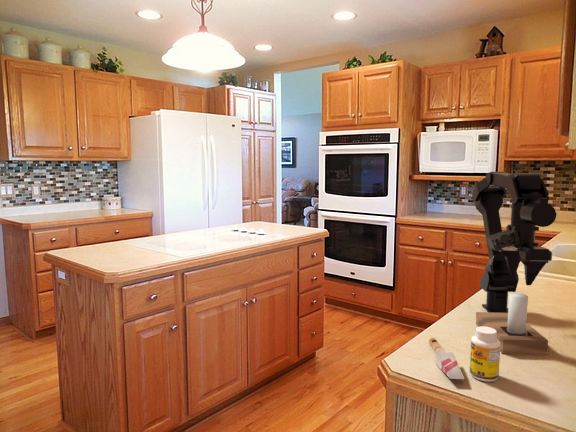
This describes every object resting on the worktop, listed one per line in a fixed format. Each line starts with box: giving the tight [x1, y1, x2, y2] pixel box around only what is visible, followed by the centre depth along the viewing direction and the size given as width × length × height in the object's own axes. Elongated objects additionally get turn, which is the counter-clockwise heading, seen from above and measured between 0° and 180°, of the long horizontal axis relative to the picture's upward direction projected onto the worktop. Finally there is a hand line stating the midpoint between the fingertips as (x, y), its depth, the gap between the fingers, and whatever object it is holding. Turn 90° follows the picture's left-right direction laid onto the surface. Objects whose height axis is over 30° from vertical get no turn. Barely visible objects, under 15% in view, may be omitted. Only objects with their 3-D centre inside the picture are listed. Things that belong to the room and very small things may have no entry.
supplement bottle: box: [469, 326, 501, 383], centre depth 90 cm, size 6×6×10 cm
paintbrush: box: [428, 337, 465, 380], centre depth 97 cm, size 4×3×20 cm
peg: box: [507, 292, 529, 336], centre depth 105 cm, size 4×4×12 cm
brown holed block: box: [475, 311, 549, 356], centre depth 109 cm, size 18×10×4 cm, turn 175°
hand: (519, 280), depth 114 cm, fingers open, 9 cm apart
